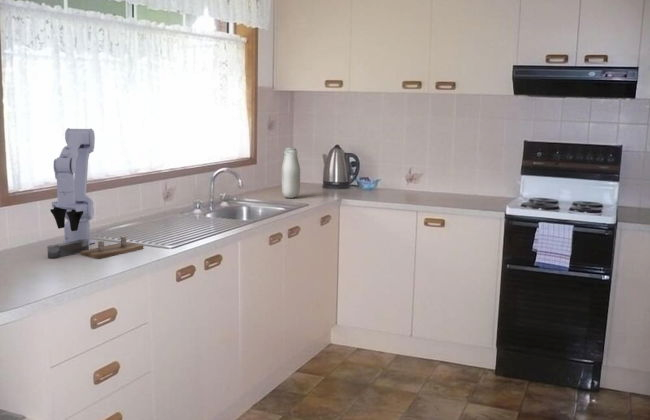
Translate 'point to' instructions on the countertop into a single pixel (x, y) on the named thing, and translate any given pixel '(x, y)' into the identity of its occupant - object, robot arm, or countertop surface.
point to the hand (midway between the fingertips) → (67, 229)
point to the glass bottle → (290, 173)
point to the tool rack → (111, 249)
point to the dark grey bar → (67, 248)
